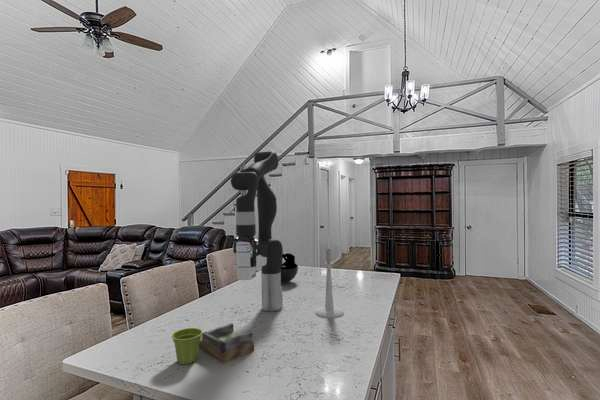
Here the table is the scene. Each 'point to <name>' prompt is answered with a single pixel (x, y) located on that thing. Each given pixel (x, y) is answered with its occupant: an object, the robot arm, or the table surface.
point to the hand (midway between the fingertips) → (246, 265)
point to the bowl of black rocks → (288, 268)
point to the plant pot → (187, 344)
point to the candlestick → (329, 294)
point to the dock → (226, 343)
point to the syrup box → (244, 262)
